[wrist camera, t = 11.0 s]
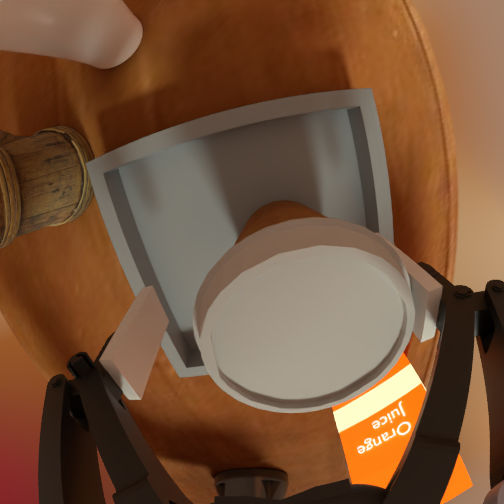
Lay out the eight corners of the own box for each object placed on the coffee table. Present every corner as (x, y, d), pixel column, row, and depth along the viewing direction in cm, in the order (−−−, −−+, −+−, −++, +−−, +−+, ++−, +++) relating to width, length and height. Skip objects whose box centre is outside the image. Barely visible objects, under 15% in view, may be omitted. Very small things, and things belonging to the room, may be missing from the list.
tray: (377, 310, 25) (391, 331, 22) (185, 353, 26) (179, 377, 23) (352, 95, 17) (371, 88, 14) (107, 159, 19) (85, 163, 16)
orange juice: (407, 357, 28) (474, 485, 10) (350, 395, 30) (390, 528, 12) (386, 325, 26) (473, 483, 7) (320, 370, 28) (362, 536, 9)
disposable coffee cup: (254, 155, 18) (255, 173, 7) (364, 214, 20) (460, 292, 9) (202, 267, 22) (160, 383, 11) (305, 310, 23) (335, 428, 12)
